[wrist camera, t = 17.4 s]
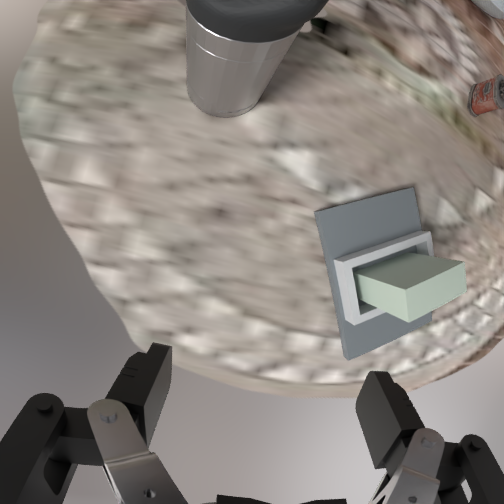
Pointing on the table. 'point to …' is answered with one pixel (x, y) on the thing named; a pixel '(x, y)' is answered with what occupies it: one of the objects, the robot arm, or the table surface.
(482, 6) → the cereal bowl
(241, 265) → the table surface
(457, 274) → the pale green rectangular block
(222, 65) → the robot arm
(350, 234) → the grey socket base
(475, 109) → the lighter
